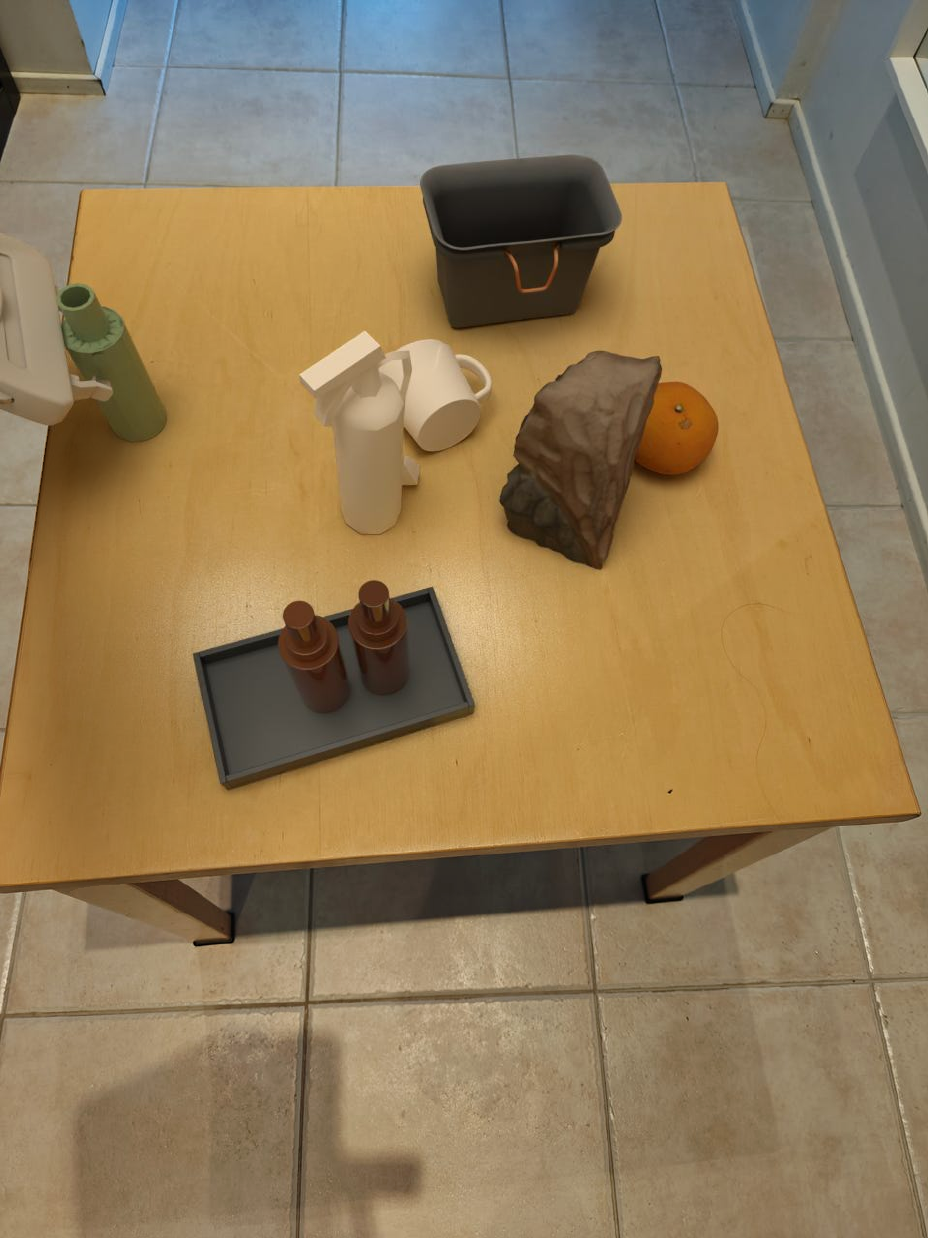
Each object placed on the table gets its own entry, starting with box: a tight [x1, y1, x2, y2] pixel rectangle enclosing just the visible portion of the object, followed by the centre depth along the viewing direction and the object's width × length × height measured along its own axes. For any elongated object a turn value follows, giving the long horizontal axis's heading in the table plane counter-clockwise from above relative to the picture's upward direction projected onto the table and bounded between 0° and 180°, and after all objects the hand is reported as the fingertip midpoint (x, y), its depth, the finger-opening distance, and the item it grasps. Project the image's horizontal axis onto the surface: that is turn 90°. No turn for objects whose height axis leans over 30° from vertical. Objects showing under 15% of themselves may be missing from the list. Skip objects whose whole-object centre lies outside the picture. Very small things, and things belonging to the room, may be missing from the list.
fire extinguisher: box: [298, 330, 421, 535], centre depth 75 cm, size 7×12×25 cm, turn 129°
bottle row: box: [278, 579, 410, 713], centre depth 69 cm, size 11×5×18 cm, turn 109°
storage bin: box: [419, 154, 623, 329], centre depth 93 cm, size 21×16×14 cm
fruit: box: [634, 381, 720, 476], centre depth 87 cm, size 10×10×8 cm
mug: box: [378, 338, 493, 452], centre depth 88 cm, size 12×9×8 cm
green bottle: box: [56, 282, 167, 443], centre depth 81 cm, size 6×6×18 cm
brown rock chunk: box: [498, 350, 663, 570], centre depth 78 cm, size 13×13×20 cm
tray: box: [192, 586, 476, 791], centre depth 76 cm, size 24×13×3 cm, turn 109°
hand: (103, 356), depth 80 cm, fingers open, 8 cm apart
